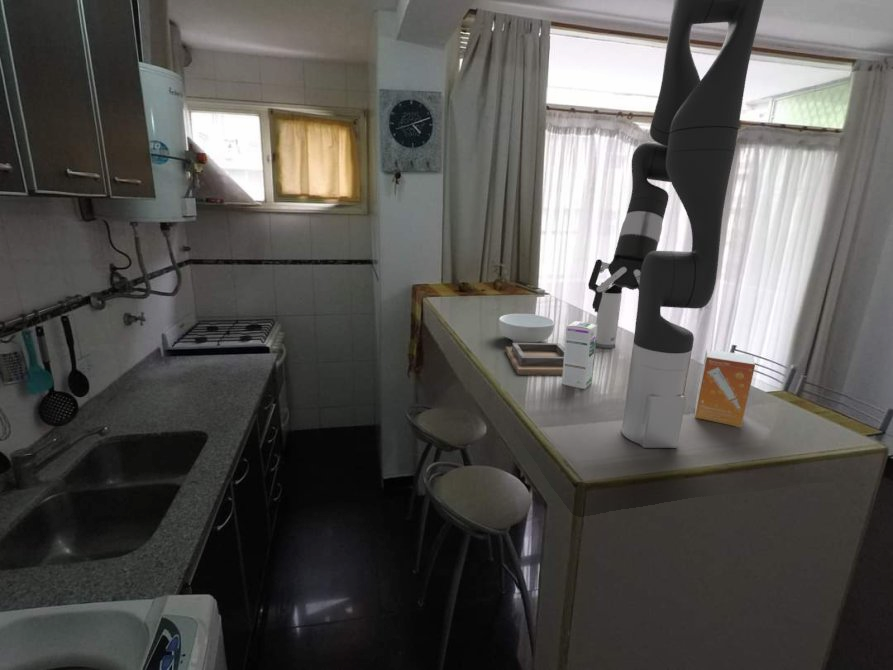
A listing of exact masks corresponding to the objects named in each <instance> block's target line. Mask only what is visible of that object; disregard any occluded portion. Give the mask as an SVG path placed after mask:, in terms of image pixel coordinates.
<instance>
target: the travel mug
mask: <svg viewBox="0 0 893 670" xmlns="http://www.w3.org/2000/svg"><path fill="white" fill-rule="evenodd" d="M602 283H603V282H601V284H602ZM601 284H600V285H601ZM622 295H623V288H621V287H618V286H617V285H615V284H614V285H613V286H612V287H610V288H609V289H607V290H606V291H605V292H603V296H602V300H601V303H600V307H599V311H598V312H596V313H597V314H596V322H595V324H597V335H596V346H595V347H598V348H603V349H613V348H615V347H616V344H617V343H616V342H617V337H618V336H617V334H618V325H619V320H620V318H619V317H620V311H621V302H622Z"/></svg>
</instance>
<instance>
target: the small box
mask: <svg viewBox="0 0 893 670" xmlns="http://www.w3.org/2000/svg"><path fill="white" fill-rule="evenodd" d="M755 368H756V363H755V360H754V356H753V355H749V354H740V353H736V352H735V353H734V352H731V351H722V350H720V351H719V350H715V349H714V350H712V349H705V352H704V358H703V364H702V368H701V374H700V378H699V379H700V380H699V384H698V385H699V386H698V389H697V395H696V401H695V408H694V409H695V411H694V418H695V419H699V420H700V419H701V420H705V421H710V422H715V423H720V424H724V425H729V426H733V427H737V428H742V425H743V421H744V416H745V412H746V409H747V408H746V407H747V405H748V404H747V403H748V399H749V395H750V390H751V385H752V381H753V379H754V378H753V377H754V373H755Z"/></svg>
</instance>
